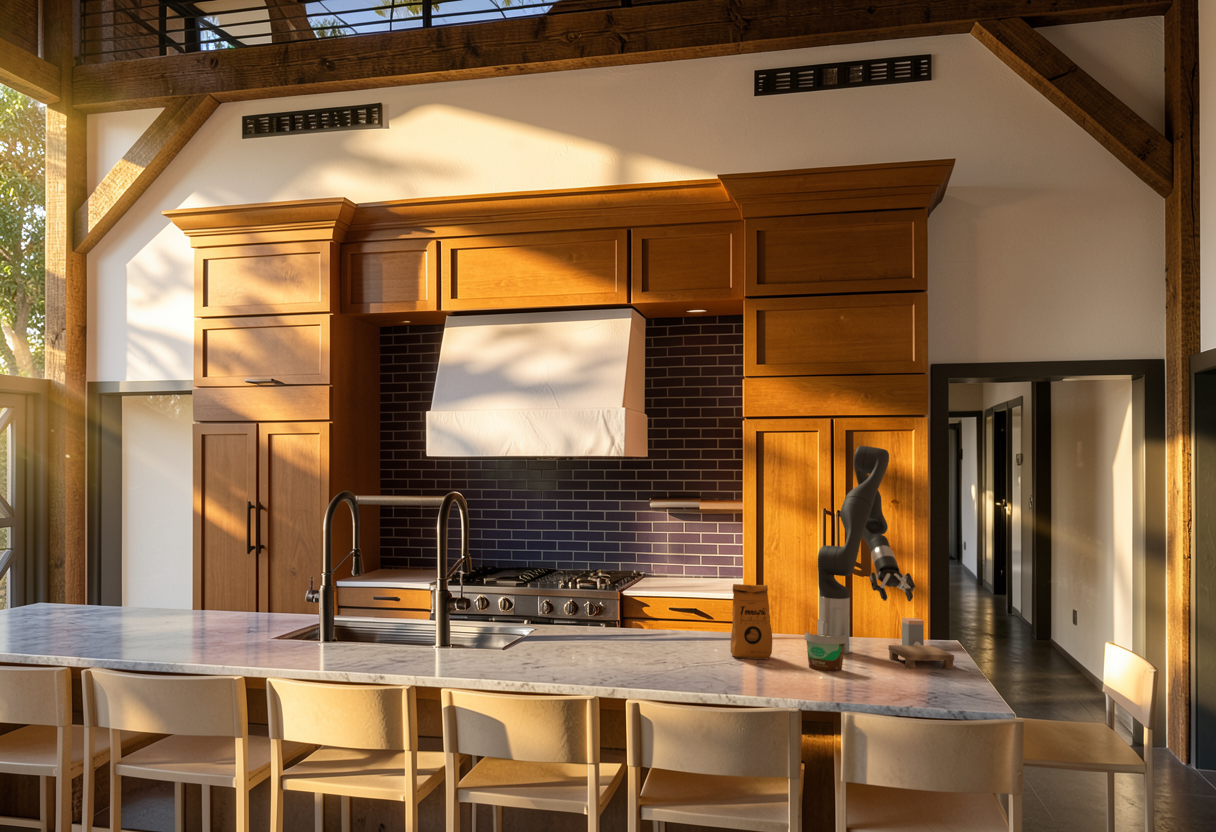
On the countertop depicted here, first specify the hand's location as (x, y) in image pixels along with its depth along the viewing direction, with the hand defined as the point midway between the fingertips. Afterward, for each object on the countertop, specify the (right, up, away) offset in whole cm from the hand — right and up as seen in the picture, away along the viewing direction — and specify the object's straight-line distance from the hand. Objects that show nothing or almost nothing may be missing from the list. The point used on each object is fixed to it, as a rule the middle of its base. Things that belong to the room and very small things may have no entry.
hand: (898, 599), depth 290 cm
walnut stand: (-4, -12, -32) cm, 34 cm away
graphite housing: (+1, -14, -12) cm, 19 cm away
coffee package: (-54, -12, -29) cm, 63 cm away
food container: (-36, -11, -43) cm, 57 cm away
